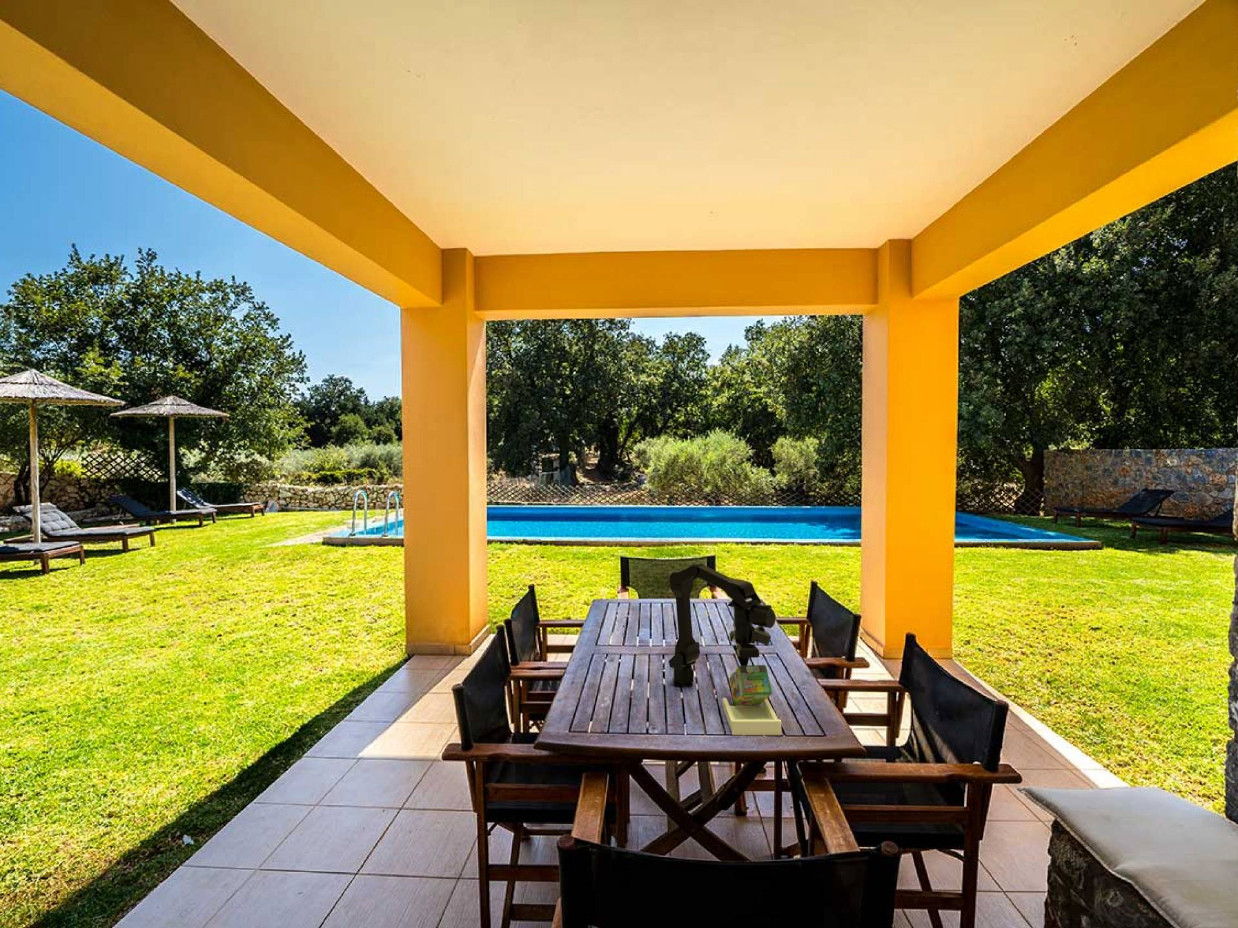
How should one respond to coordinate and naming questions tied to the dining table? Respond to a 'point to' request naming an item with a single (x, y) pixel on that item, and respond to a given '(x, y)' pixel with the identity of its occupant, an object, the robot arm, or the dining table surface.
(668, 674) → the dining table surface
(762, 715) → the pale yellow tray
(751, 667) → the chalk box
